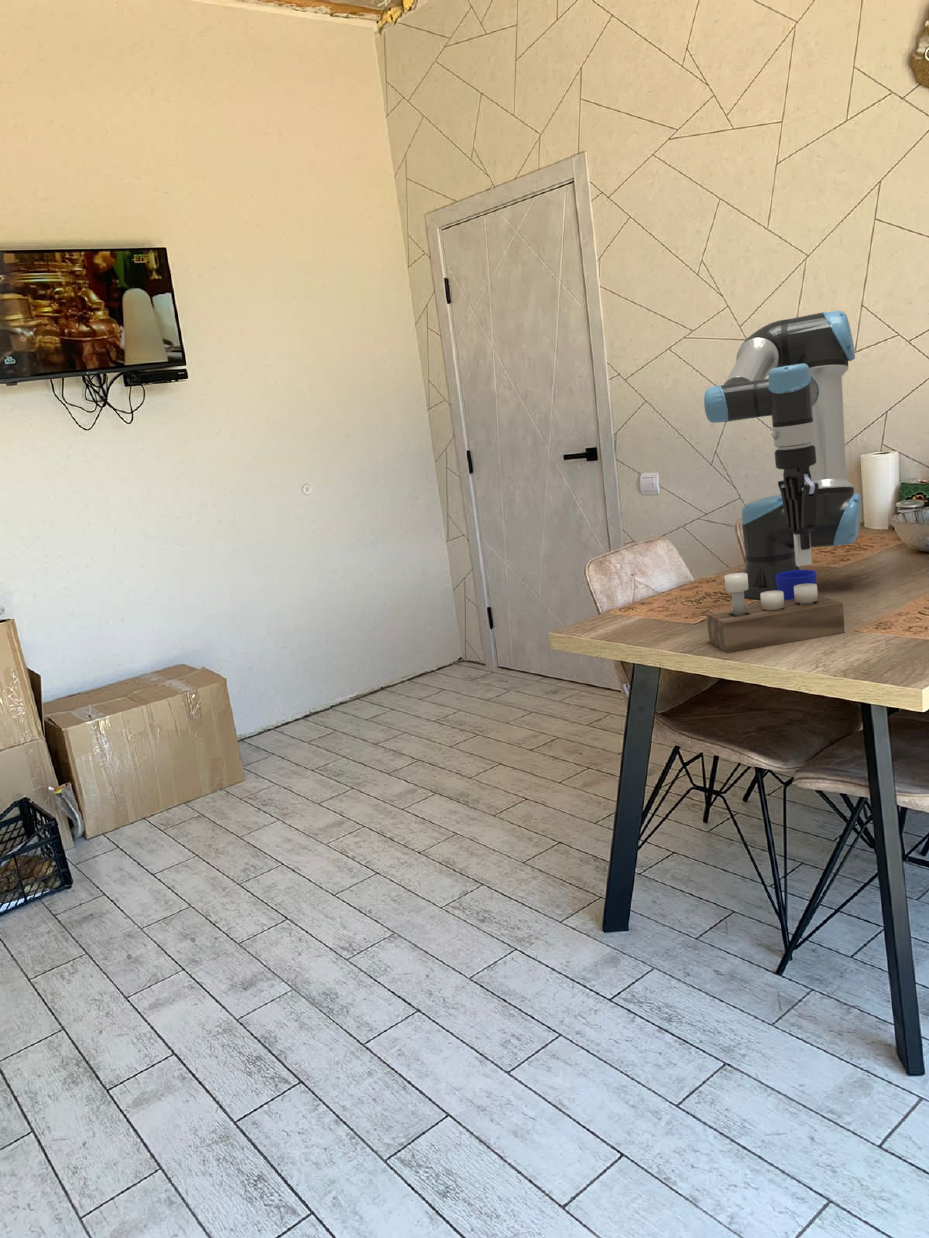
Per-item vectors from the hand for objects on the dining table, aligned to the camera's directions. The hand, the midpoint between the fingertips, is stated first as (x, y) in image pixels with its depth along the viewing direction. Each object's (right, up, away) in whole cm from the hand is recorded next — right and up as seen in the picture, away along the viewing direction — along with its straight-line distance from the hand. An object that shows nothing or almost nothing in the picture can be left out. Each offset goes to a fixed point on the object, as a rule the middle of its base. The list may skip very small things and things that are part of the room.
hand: (804, 564), depth 187 cm
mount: (-5, -15, +2) cm, 15 cm away
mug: (+4, -11, +15) cm, 19 cm away
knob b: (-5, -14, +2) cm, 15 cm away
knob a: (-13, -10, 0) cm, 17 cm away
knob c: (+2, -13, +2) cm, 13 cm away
